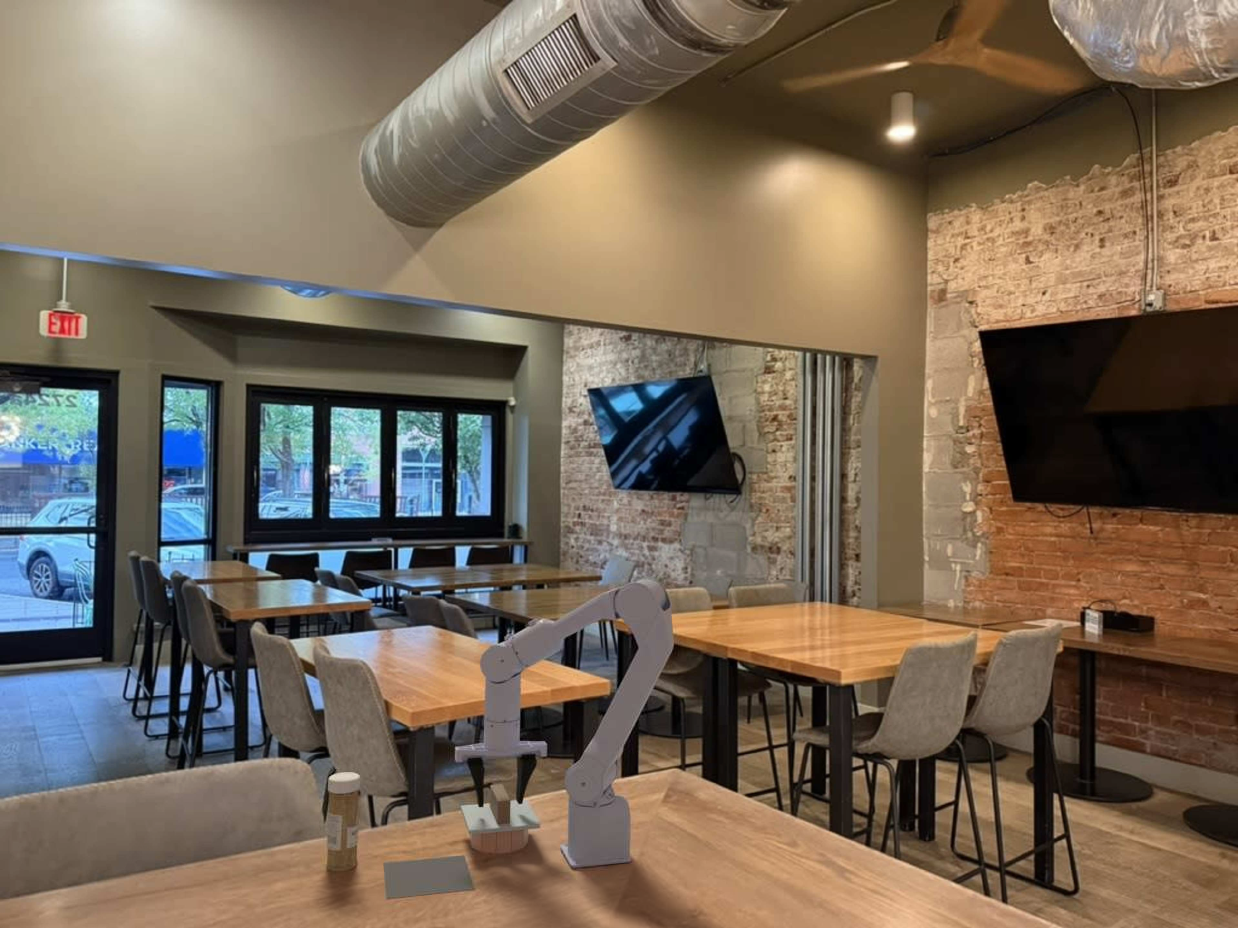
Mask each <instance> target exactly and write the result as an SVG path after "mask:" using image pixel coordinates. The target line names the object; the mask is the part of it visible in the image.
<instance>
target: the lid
mask: <svg viewBox="0 0 1238 928" xmlns="http://www.w3.org/2000/svg"><path fill="white" fill-rule="evenodd" d="M460 811H461V814H462V817H463V820H464V823H465V826H466V829H467V832H468V834H469V836H470V834H481V833H492V832H503V831H514V830H525V829H528V830H536V829H541V823H540V821H539V820H538V817H537V815H536V814H535V812H534V810H533V808H532V807H531V805H530V803H529V801H528V800H524V799H523V804H518V803H517V801H516V800H514V801H511V799H510V797H509V795H508V793H507V791H506V788H505V786H504V785H503V784H502V783H500V784H490V786H489V803H484V806H483V807H479V806H478V804H477V803H475V804H464V805H460Z"/></svg>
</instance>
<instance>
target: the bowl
mask: <svg viewBox="0 0 1238 928" xmlns="http://www.w3.org/2000/svg"><path fill="white" fill-rule="evenodd" d="M528 843H529V829H525V830H514V831H503V832H492V833H481V834H470V835H469V844H470V846H471V848H472V849H474V850H476V851H478V852H481V853H487V854H493V855H494V854H495V855H497V854H498V855H499V854H507V853H508V854H509V853H513V852H517V851H520V850H522V849H524V848H525V847H526V845H527V844H528Z"/></svg>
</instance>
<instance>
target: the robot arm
mask: <svg viewBox="0 0 1238 928" xmlns="http://www.w3.org/2000/svg"><path fill="white" fill-rule="evenodd" d="M672 609H673V602H672V600H671V598H670V595H669V594H668V591H667V589H666V587H665V585H664V584H663V582H662V583H661V581H660V580H658V579H656V578H654V577H649V576H648V577H643V578H639V579H638V580H636V581H634V582H629V583H626V584H625V585H622V586H619V587H617V588H613V589H611V590H608V591H605V592H603V593H600V594H598V595H597V596H595V597H593V598H591V599H590V600H588V601H586V602H585V603H583V604H581V605H580V606H579V607H577V608H574V609H573V610H571V611H569V612H568V613H567V614H565V615H563V616H562V617H560V618H558V619H556V620H552V619H548V618H541V619H540V620H539V618H534V619H532V620H531V621H528V622H527V623H528V626H527V627H525V628H523V629H522V630H520V631H517V632H516V633H514V634H512V633H509V634H507V635H506V636H504V641H502V642H499V643H496V644H491V645H490V646H489V648H487V649H486V650H485V651H484V652H483V653H482V654H481V657H480V662H479V667H480V671H481V672H482V675H483V677H484V678H485V685H484V686H485V687H484V711H483V713H484V719H483V721H484V723H483V742H480V743H474V744H468V745H463V746H455V747H454V760H455V762H456V763H463V762H464V761H465V762H466V765H467V767H468V770H469V772H470V774H471V778H472V780H473V784H474V785H473V786H474V788H475V794H476V801H477V803H476V804H478V806H479V807H483V806H484V804H485V798H484V797H485V796H484V795H485V794H484V785H485V784H484V782H485V781H484V780H485V772H486V771H485V770H486V767H485V765H484V761H483V760H492V759H493V760H495V759H506V758H507V759H508V758H509V759H510V758H516V774H517V775H516V788H515V789H516V790H515V801H517V803H518V804H523V801H524V797H525V793H526V790H527V786H528V783H529V781H530V780H531V779H530V778H531V776H532V774H533V773H534V771H535V769H536V767H537V765H538V760H537V758H536V757H541V758H542V757H547V756H548V754H547V753H548V744H547V743H546V741H544V740H543V741H532V740H531V741H529V740H520V737H521V736H520V734H521V700H522V699H521V695H522V694H521V693H522V690H521V689H522V688H521V687H522V685H521V684H522V683H521V682H522V681H521V679H522V678H521V677H522V673H523V671H525V669H529V668H530V667H531V668H532V667H533V666H535V665H536V664H539V663H540V662H542V661H543V660H545V659H547V658H549V657H550V656H553V655H554V654H556V653H558V652H560V651H561V649H562V646H563V644H564V640H565V639H566V638H567V637H569V636H571V635H573V634H575V633H577V632H579V631H581V630H583V629H585V628H586V627H588V626H590V625H593V624H594V623H596V622H598V621H600V620H603V619H605V620H611V621H617V620H618V619H621V620H622V621H623V622H624V623H625V625H626V626H627V627H628V628H629V630H631V631H632V634H633V636H634V640H635V641H636V644H637V646H638V649H637V651H636V653H635V655H634V657H633V659H632V661H631V663H630V664H629V667H628V669H627V671H626V673H625V675H624V677H623V679H622V681H621V682H620V685H619V687H618V688H617V690H616V692H615V695H614V697H613V699H612V701H611V703H610V705H609V707H608V708H607V711H606V713H605V714H604V716H603V718H602V721H601V723H600V724H599V726H598V729H597V730H596V732H595V734H594V736H593V737H592V739H591V741H590V742H589V744H588V745H587V747H586V749H585V750H584V751H583V753H582V755H581V756H580V759H579V760H577V762H576V763H574V764H572V765H571V766H570V767H569V768H568V769H567V771H566V773H565V776H564V782H563V783H564V788H565V791H566V793H567V796H568V809H567V811H568V813H567V843H565V844H560V845H559V847H560V851H561V852H562V853H563V856H564V857H565V859H566V861H567V862H568V864H569V866H570V867H571V868H572V869H574V868H576V869H577V868H584V867H585V868H586V867H594V866H595V867H596V866H604V865H605V866H606V865H611V864H613V865H614V864H623V863H630V862H631V861H632V858H631V856H630V855H631V824H632V823H631V819H632V818H631V811H630V803H629V801H628V798H627V797H626V796H625V795H616V793H615V791H614V788H613V786H612V785H613V783H614V782H615V780H616V779H617V777H618V775H619V771H620V770H619V769H620V768H619V766H620V765H619V761H620V759H621V756H622V754H623V752H624V746H625V744H626V743H627V741H628V738H629V736H630V734H631V732H632V730H633V728H634V727H635V725H636V722H637V721H638V719H639V716H641V712H642V711H643V709H644V707H645V705H646V703H647V701H648V699H649V697H650V695H651V693H652V692H653V689H654V687H655V685H656V683H657V681H658V679H659V677H660V676H661V673H662V671H663V670H664V668H665V666H666V663H667V661H668V660H669V658H670V655H671V654H672V651H673V649H674V645H675V640H674V639H675V638H674V629H673V619H672V611H673V610H672Z"/></svg>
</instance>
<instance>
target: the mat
mask: <svg viewBox="0 0 1238 928" xmlns="http://www.w3.org/2000/svg"><path fill="white" fill-rule="evenodd" d="M383 871H384V872H383V874H384V886H385V899H386V900H394V899H403V898H411V897H420V896H429V895H430V896H431V895H438V894H439V895H440V894H447V893H449V894H450V893H458V892H466V891H467V892H468V891H475V886H474V882H473V880H472V877H471V873H470V869H469V867H468V862H467V860H466V857H465V855H464V854H463V855H452V856H443V857H434V858H433V857H432V858H424V859H423V858H422V859H411V860H402V861H401V860H400V861H391V862H383Z"/></svg>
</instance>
